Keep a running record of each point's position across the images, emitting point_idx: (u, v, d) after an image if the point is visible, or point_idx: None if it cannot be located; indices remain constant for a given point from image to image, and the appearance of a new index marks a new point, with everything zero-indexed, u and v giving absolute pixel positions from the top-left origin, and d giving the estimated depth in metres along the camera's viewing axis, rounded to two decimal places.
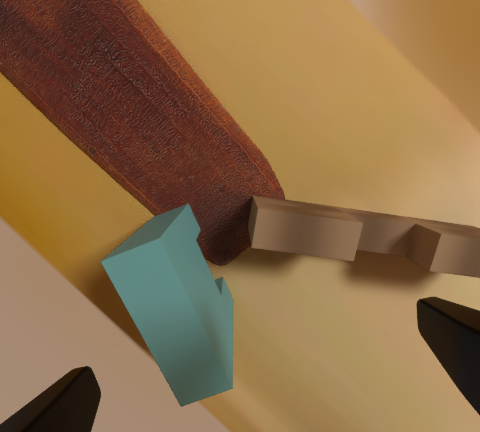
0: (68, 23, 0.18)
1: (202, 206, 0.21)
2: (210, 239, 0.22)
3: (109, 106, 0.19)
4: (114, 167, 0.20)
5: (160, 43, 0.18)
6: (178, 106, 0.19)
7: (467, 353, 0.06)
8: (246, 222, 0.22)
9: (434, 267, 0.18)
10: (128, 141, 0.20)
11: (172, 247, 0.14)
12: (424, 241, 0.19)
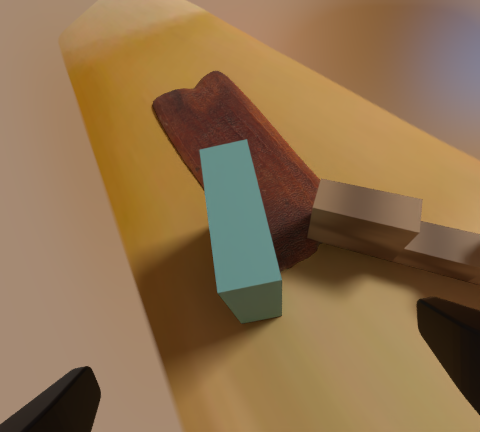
0: (213, 109, 0.31)
1: (268, 213, 0.24)
2: None
3: None
4: None
5: (262, 119, 0.30)
6: (265, 148, 0.28)
7: (467, 353, 0.06)
8: (305, 232, 0.23)
9: None
10: None
11: None
12: None
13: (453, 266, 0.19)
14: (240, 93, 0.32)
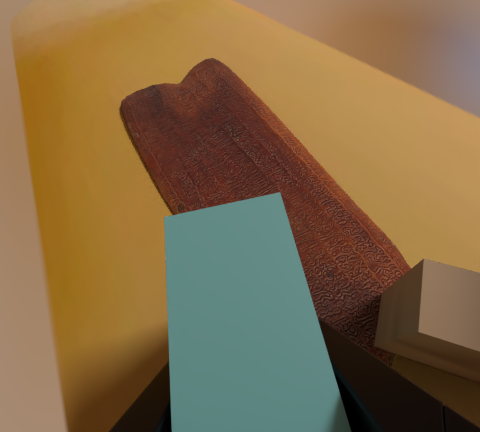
0: (206, 113, 0.21)
1: None
2: None
3: (216, 169, 0.18)
4: None
5: (280, 129, 0.19)
6: (288, 175, 0.17)
7: None
8: (368, 335, 0.13)
9: None
10: (223, 201, 0.17)
11: None
12: None
13: None
14: (246, 89, 0.22)
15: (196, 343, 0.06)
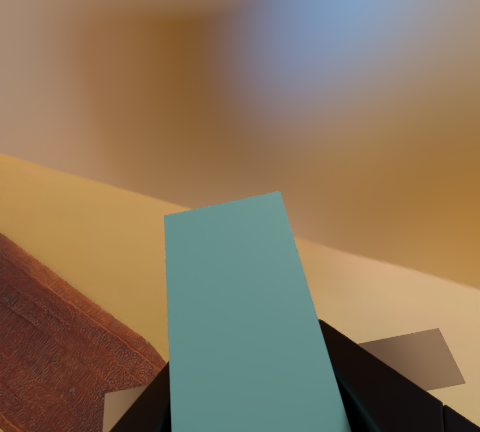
0: None
1: (84, 423, 0.18)
2: None
3: (2, 344, 0.22)
4: None
5: (50, 281, 0.24)
6: (61, 323, 0.22)
7: None
8: None
9: None
10: (13, 372, 0.20)
11: None
12: None
13: None
14: (16, 252, 0.25)
15: (196, 341, 0.06)
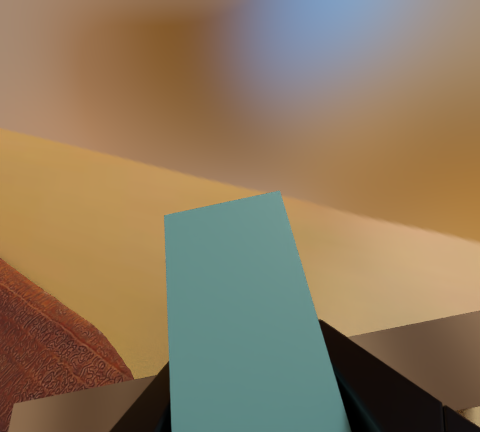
0: None
1: None
2: None
3: None
4: None
5: None
6: None
7: None
8: None
9: None
10: None
11: None
12: None
13: None
14: None
15: (196, 340, 0.06)
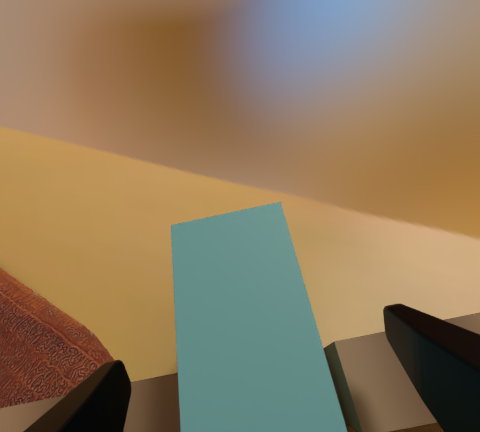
0: None
1: None
2: None
3: None
4: None
5: None
6: None
7: (425, 361, 0.06)
8: None
9: (368, 422, 0.08)
10: None
11: None
12: (338, 373, 0.10)
13: None
14: None
15: (202, 345, 0.06)
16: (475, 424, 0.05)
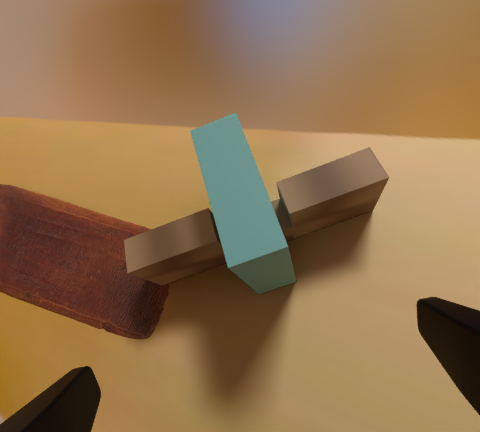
0: (10, 227, 0.29)
1: (113, 289, 0.24)
2: (128, 315, 0.23)
3: (35, 257, 0.27)
4: (43, 297, 0.25)
5: (61, 206, 0.28)
6: (78, 231, 0.27)
7: (467, 353, 0.06)
8: (153, 282, 0.23)
9: (291, 208, 0.18)
10: (50, 272, 0.26)
11: None
12: (282, 201, 0.20)
13: None
14: (28, 194, 0.30)
15: (210, 166, 0.16)
16: None
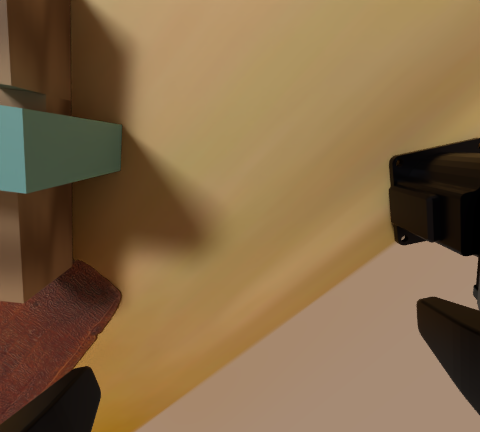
0: None
1: (57, 319, 0.21)
2: (91, 308, 0.21)
3: None
4: (42, 390, 0.23)
5: None
6: None
7: (467, 353, 0.06)
8: (64, 276, 0.21)
9: (4, 78, 0.13)
10: (14, 382, 0.22)
11: None
12: None
13: None
14: None
15: None
16: None
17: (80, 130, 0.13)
